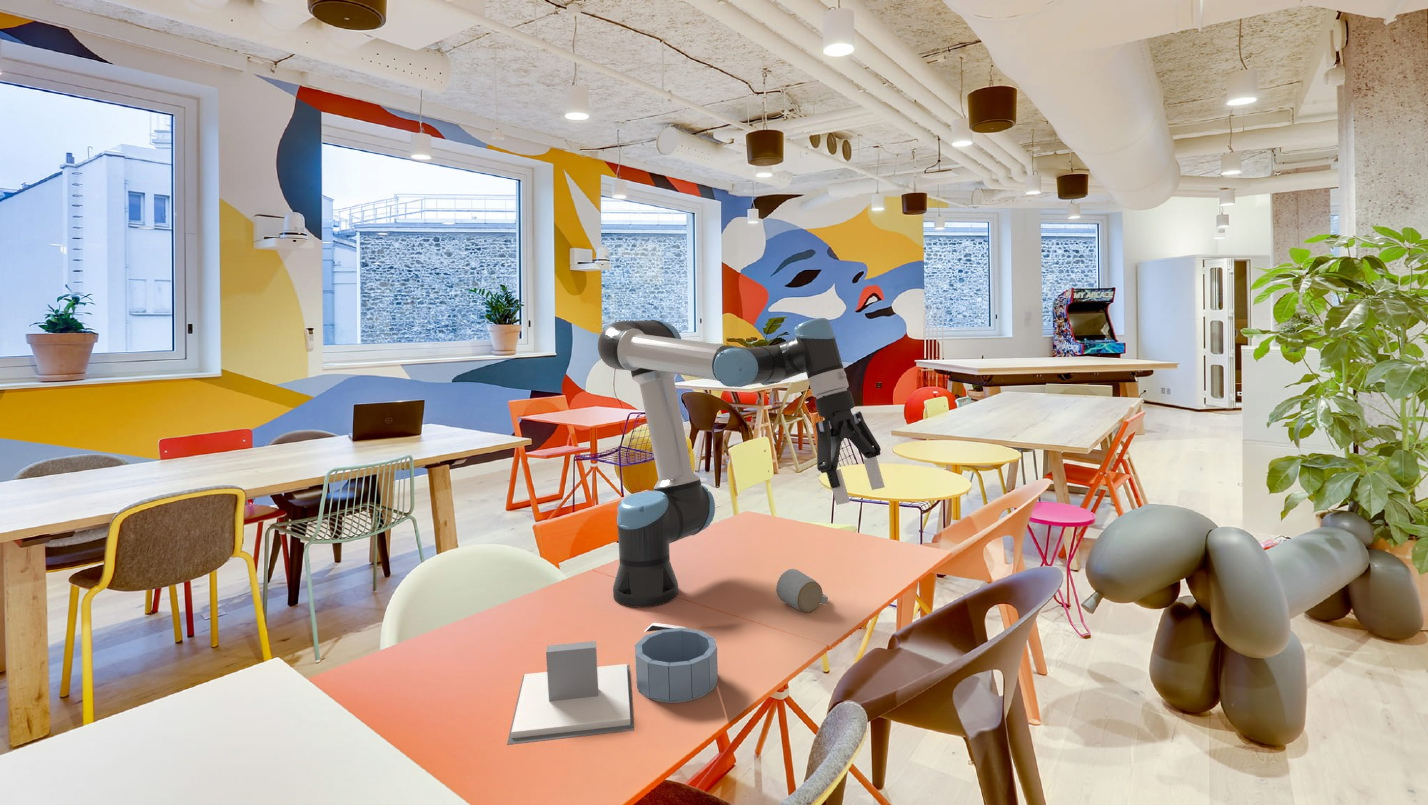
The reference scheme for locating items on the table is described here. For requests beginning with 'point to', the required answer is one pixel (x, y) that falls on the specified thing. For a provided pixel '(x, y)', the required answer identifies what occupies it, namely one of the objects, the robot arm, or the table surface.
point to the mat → (575, 733)
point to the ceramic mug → (800, 591)
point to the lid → (572, 694)
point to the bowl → (676, 665)
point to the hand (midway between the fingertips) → (861, 495)
